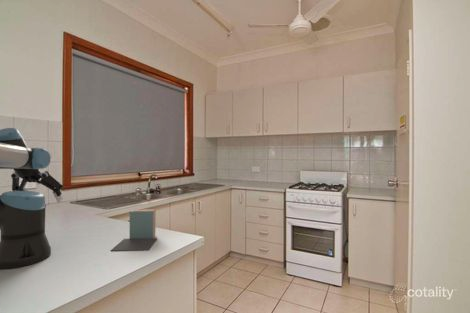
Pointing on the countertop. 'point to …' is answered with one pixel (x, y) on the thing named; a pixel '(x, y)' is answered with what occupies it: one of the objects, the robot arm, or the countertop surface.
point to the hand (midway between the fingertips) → (45, 200)
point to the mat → (134, 244)
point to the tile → (142, 223)
